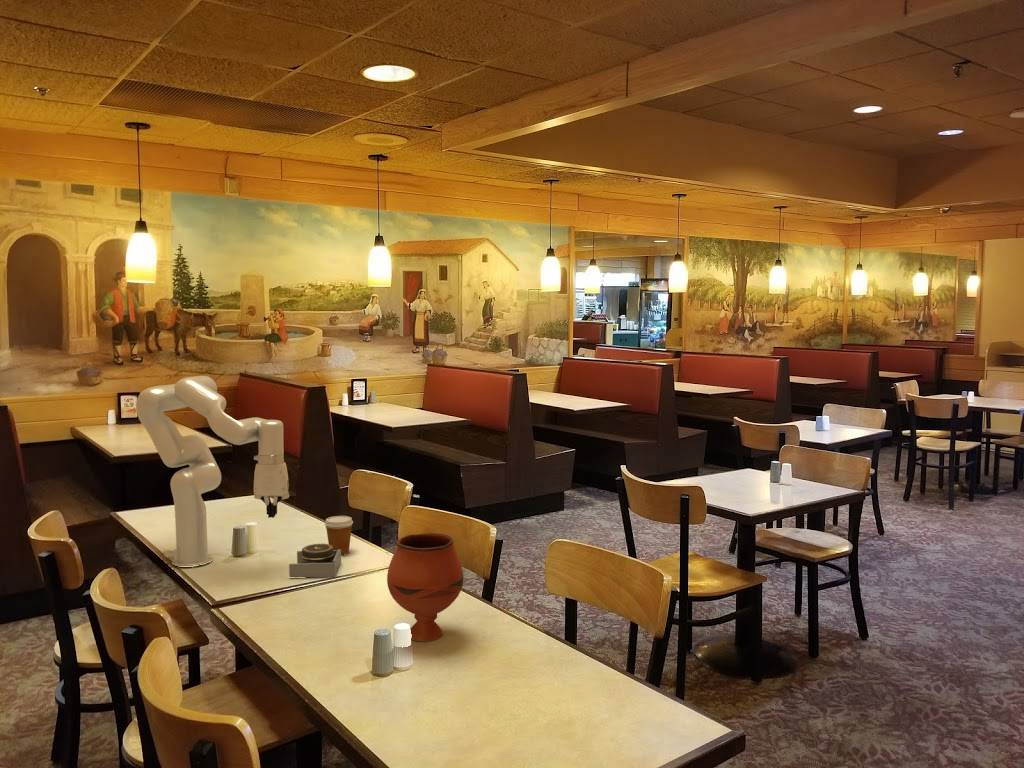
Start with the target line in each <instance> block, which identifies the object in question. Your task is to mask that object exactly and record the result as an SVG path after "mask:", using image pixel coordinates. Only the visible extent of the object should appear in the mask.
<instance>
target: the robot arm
mask: <svg viewBox="0 0 1024 768" xmlns="http://www.w3.org/2000/svg"><path fill="white" fill-rule="evenodd" d="M188 407H189V408H190V409H192V410H194V411H195V412H196V413H198V414H199V415H201V416H203V417H204V418H205V419H206V420H207V423H208V425H209V428H210V429H211V430H212V431H213V432H214V433H215V434H216V435H217V436H218V437H220V438H222V439H223V440H225V441H226V442H228V443H230V444H231V445H232V444H233V445H235V446H236V445H237V446H241V445H245V444H249V443H253V442H257V441H258V454H257V455H254V456H253V460H254V461H257V463H256V464H255V469H254V477H253V478H254V479H253V494H254V495H253V498H254V499H255V500H260V501H262V502H263V503H264V505H265V507H266V509H265V510H266V515H268V517H267V518H268V519H269V518H272V519H273V518H275V517H276V515H278V503H280V502H281V501H282V500H285V499H286V500H287V499H289V497H290V493H289V490H290V489H289V487H290V485H289V475H288V467H287V464H286V462H285V459H284V455H285V454H284V452H285V451H284V422H283V421H281V420H278V419H265V418H261V417H256V416H255V417H249V418H243V419H239V420H236V419H235V418H233V417H232V416H230V415H228V414H227V413H225V409H226V407H227V400H226V397H224V396H223V395H222V394H220V393H218V386H217V384H216V382H215V380H214V379H213V378H212V377H210V376H207V375H196V376H186V377H183V378H180V380H179V379H178V381H176V383H172V384H165V385H163V384H162V385H156V386H155V385H154V386H151V387H148V388H145V389H144V390H143V391H141V392H140V394H139V395H138V396H137V398H136V402H135V411H136V415H137V418H138V420H139V421H140V423H141V424H142V426H143V427H144V429H145V430H146V433H148V435H149V437H150V439H151V441H152V443H153V446H154V447H155V449H156V450H157V453H158V455H159V457H160V459H161V460H162V462H163V464H164V465H165V467H166V466H167V468H173V469H174V468H179V467H183V466H186V465H188V467H185V468H182V469H180V470H178V471H176V472H175V473H174V474H173V476H172V477H171V479H170V491H171V494H172V498H173V503H174V504H173V505H174V517H175V518H174V519H175V545H176V549H173V550H169V549H167V550H166V549H165V550H164V551H163V556H164V557H165V558H166V559H168V558H172V560H171V565H172V564H173V565H175V566H193V565H200V564H204V563H207V562H209V561H211V560H212V559H213V560H214V556H213V555H211V554H210V553H209V550H208V549H209V548H208V525H207V524H208V521H207V520H208V519H207V508H206V503H205V501H204V499H203V498H202V494H205V493H207V492H211V491H213V490H215V489H217V488H218V487H219V486H220V484H221V482H222V472H221V469H220V467H219V465H218V464H217V462H216V459H215V457H214V455H213V454H212V451H211V450H210V448H209V446H208V444H207V443H206V442H205V440H204V439H202V437H200V436H198V435H194V434H189V435H182V434H181V432H180V430H179V429H178V427H177V425H176V424H175V422H174V421H173V420H172V419H171V418H170V417H169V416H167V415H166V414H165V413H164V412H169V411H174V410H180V409H185V408H188ZM271 497H273V499H272V498H271ZM271 499H272V501H271ZM173 565H172V566H173ZM175 566H174V567H175Z"/></svg>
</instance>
